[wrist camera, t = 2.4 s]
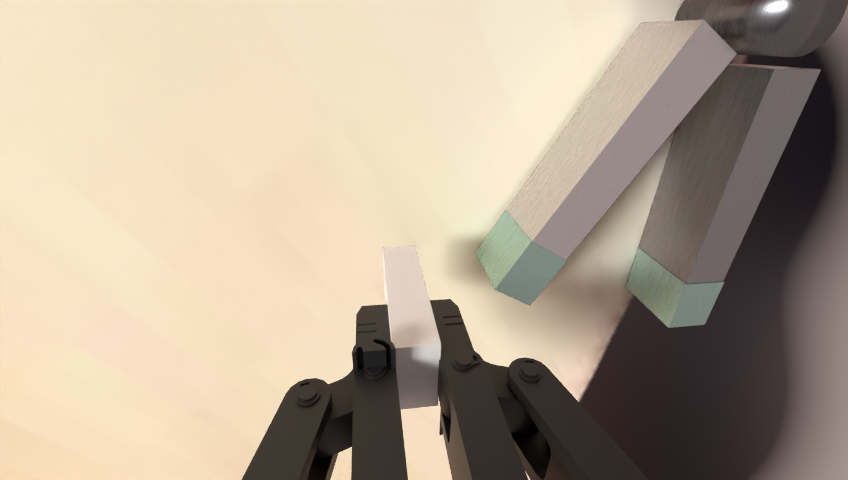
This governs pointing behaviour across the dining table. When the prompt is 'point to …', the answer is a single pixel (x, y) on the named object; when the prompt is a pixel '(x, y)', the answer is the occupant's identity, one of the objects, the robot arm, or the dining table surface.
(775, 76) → the base
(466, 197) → the dining table surface
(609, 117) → the tong arm
